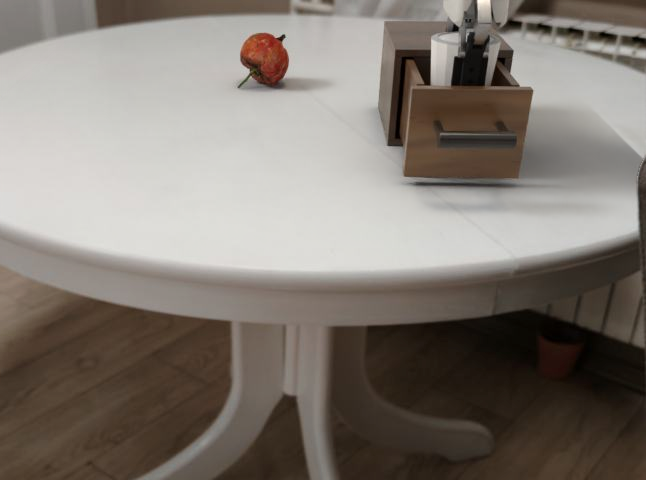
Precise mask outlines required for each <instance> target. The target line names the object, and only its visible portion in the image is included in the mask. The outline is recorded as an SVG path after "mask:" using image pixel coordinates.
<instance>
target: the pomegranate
mask: <svg viewBox="0 0 646 480" xmlns="http://www.w3.org/2000/svg"><path fill="white" fill-rule="evenodd" d="M286 38H287V37H286V34H285V33H282V34H281V35H279V36H278V37H275V35H273V34H272V33H269V32H256V33H253V34H251V35H250V36H249V37H248V38H247V39H246V40H245V41H244V42H243V43H242V46H241V49H240V53H239V56H240V57H239V58H240V59H239V61H240V63H241V65H242V66H243V67H245V68H246V69H248V71H249V73H248V74H247V76H246V77H245V78H244V79H243V81H241V83H240V84H239V85H237V88H238V89H240V88H241V87H242V86H243V85H244V84H245V83H247V82H248V80H249V79H250V78H252V79H253V80H254V81H256V82H258V83H262V84H265V85H267V86H269V87H270V86H271V87H272V86H275V85H277V84H278V83H279V82H280V81H281V80H283V79H284V77H285V76H286V74H287V71H288V69H289V65H290V57H289V53H288V51H287V48H285V47H284V44H283V41H284V40H285V39H286Z"/></svg>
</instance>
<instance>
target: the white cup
mask: <svg viewBox="0 0 646 480" xmlns="http://www.w3.org/2000/svg"><path fill="white" fill-rule="evenodd" d="M469 33H470V32H466V41H467V35H469ZM458 39H459V32H444V33H439V34H435V35H433V36H431V85H430V86H451V79H452V71H453V62H454V56H458ZM500 44H501V40H500V38H498V37H496V36H493V35H490V43H489V55H488V57H489V59H488V66H487V73H486V80H485V86H490V85H491V81H492V77H493V73H494V69H495V64H496V60H497V56H498V52H499V48H500Z"/></svg>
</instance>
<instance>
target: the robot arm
mask: <svg viewBox="0 0 646 480" xmlns="http://www.w3.org/2000/svg"><path fill="white" fill-rule="evenodd" d="M442 5H443V6H442V7H443V11H444V13H445V14H446V16H447V18H446V19H447V20H446V21H447V24H446V29H445V32H459V39H458V56H454V62H453V71H452V79H451V86H485V80H486V73H487V66H488V59H489V57H488V55H489V43H490V29H491V26H492V23H493V25H494V26H495V27H497V28H502V27H503V26H504V25H506V23H507V21H508V15H509V8H510V7H509V6H510V0H442ZM466 32H470V33H469V35H467V41H466Z"/></svg>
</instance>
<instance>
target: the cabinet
mask: <svg viewBox="0 0 646 480" xmlns="http://www.w3.org/2000/svg"><path fill="white" fill-rule="evenodd" d="M446 24H447V20H446V21H445V20H444V21H443V20H441V21H439V20H438V21H437V20H384V22H383V36H382V49H381V61H380V75H379V89H378V101H377V108H378V112H379V117H380V120H381V124H382V125H381V126H382V128H383V133H384V137H385V141H386V145H387V146H392V147H393V146H396V147H397V146H399V147H400V146H402V147H403V145H402V141H401V138H400V134H399V131H398V125H399V114H400V103H401V91H402V80H403V69H404V58H405V57H431V36H433V35H435V34H439V33H444V32H445V29H446ZM490 35H493V36H496V37H498V38H500V40H501V44H500V48H499V52H498V56H497V58H498V59H499V60H500V62H501V63H502V64H503V65H504V67H505V68H506V69H507V70H508V71H509V73H510V74H511V72H512V65H513V59H514V51H515V50H514V49H513V47H511V46H510V44H509V43H508V42H507V41H506V40H505V39H504V38H503V37H502V36H501V35H500V34H499V33H498V32H497V31H496V29H495V28H494V27H493V26H492V25H491V29H490Z"/></svg>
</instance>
